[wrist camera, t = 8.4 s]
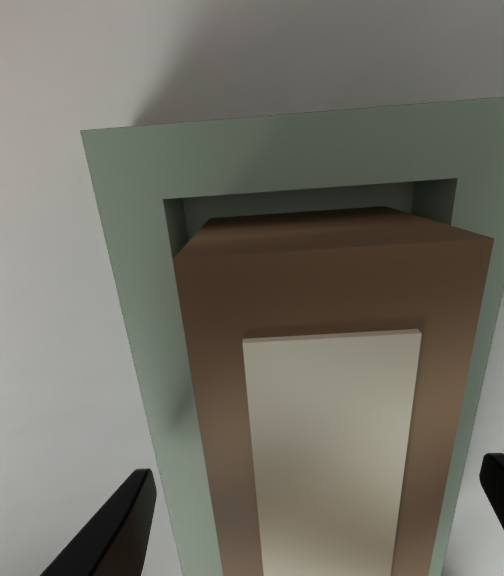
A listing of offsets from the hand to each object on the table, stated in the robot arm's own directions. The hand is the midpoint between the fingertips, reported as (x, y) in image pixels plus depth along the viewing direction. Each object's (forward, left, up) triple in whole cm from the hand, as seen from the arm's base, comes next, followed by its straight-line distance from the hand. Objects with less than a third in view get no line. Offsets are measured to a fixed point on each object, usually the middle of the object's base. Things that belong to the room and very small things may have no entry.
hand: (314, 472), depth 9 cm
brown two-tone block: (0, 0, -3) cm, 3 cm away
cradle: (0, 0, -4) cm, 4 cm away
